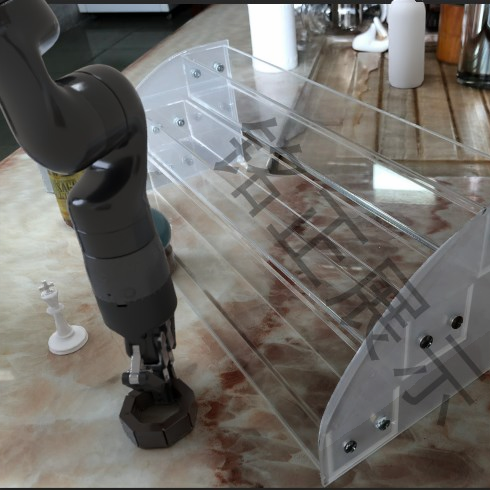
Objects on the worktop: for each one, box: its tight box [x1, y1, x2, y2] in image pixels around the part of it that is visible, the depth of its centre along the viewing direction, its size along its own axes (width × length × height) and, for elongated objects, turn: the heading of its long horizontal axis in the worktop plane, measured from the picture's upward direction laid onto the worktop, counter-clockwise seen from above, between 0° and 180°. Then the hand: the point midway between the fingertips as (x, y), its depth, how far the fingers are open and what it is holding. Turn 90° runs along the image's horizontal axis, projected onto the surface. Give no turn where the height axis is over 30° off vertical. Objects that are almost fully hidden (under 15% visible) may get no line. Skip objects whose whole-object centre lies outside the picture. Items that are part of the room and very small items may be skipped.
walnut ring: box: [118, 376, 199, 449], centre depth 65 cm, size 8×8×2 cm
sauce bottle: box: [47, 169, 84, 228], centre depth 99 cm, size 6×6×20 cm
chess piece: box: [37, 279, 89, 356], centre depth 75 cm, size 5×5×10 cm
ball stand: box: [150, 206, 177, 275], centre depth 87 cm, size 8×8×10 cm
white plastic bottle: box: [387, 0, 427, 90], centre depth 142 cm, size 9×9×30 cm
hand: (167, 395), depth 68 cm, fingers closed on walnut ring, 1 cm apart
